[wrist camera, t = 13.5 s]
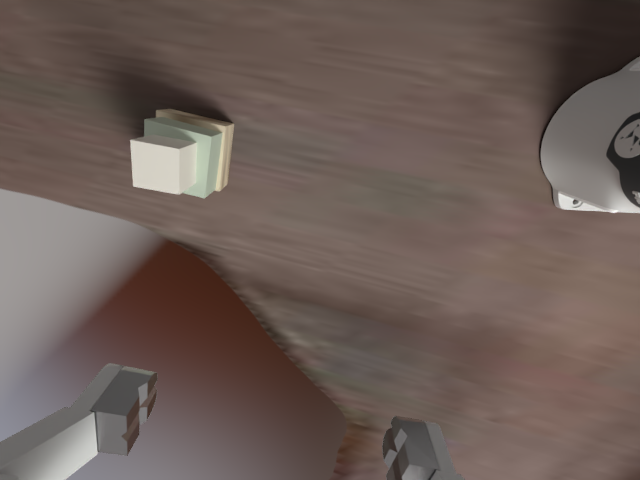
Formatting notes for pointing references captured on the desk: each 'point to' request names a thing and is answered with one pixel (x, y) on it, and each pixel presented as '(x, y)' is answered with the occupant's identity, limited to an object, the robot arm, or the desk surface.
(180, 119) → the tower base
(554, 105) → the desk surface
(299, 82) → the desk surface
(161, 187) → the cream block
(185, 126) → the green tower middle block
